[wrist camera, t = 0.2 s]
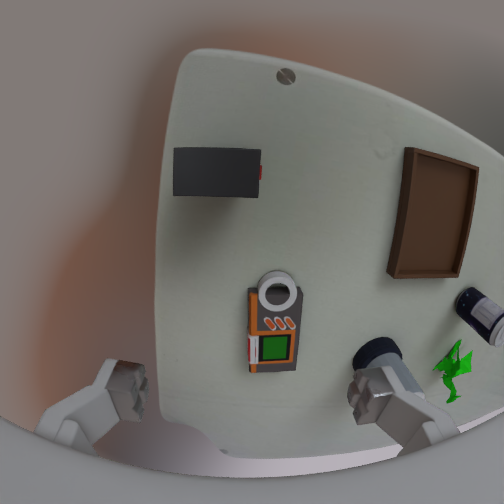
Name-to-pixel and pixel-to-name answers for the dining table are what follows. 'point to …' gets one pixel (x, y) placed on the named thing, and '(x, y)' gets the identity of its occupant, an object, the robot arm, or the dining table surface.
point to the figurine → (454, 369)
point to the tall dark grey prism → (216, 172)
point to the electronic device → (273, 324)
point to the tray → (432, 216)
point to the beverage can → (482, 315)
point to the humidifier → (386, 361)
